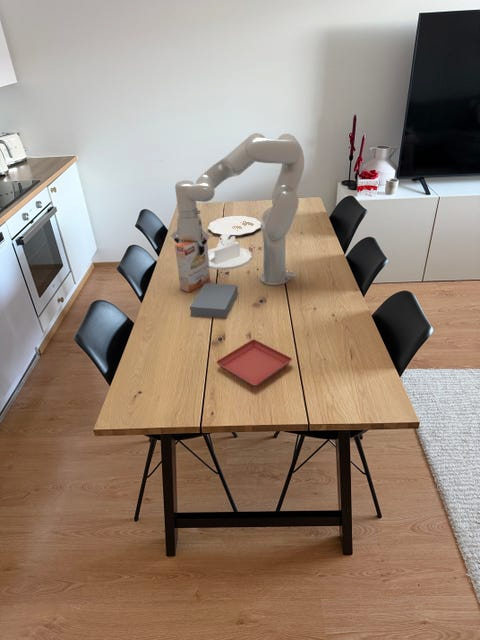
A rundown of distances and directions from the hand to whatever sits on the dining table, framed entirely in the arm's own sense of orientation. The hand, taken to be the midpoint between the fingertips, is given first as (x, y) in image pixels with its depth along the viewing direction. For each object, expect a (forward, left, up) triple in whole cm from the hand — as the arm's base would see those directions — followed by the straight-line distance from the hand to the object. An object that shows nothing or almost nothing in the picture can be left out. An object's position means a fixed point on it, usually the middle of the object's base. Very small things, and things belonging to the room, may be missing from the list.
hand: (192, 253), depth 198 cm
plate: (-1, -68, -16) cm, 70 cm away
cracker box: (0, 0, -15) cm, 15 cm away
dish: (-6, -29, -16) cm, 33 cm away
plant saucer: (-37, +53, -16) cm, 67 cm away
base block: (-13, +15, -15) cm, 25 cm away
